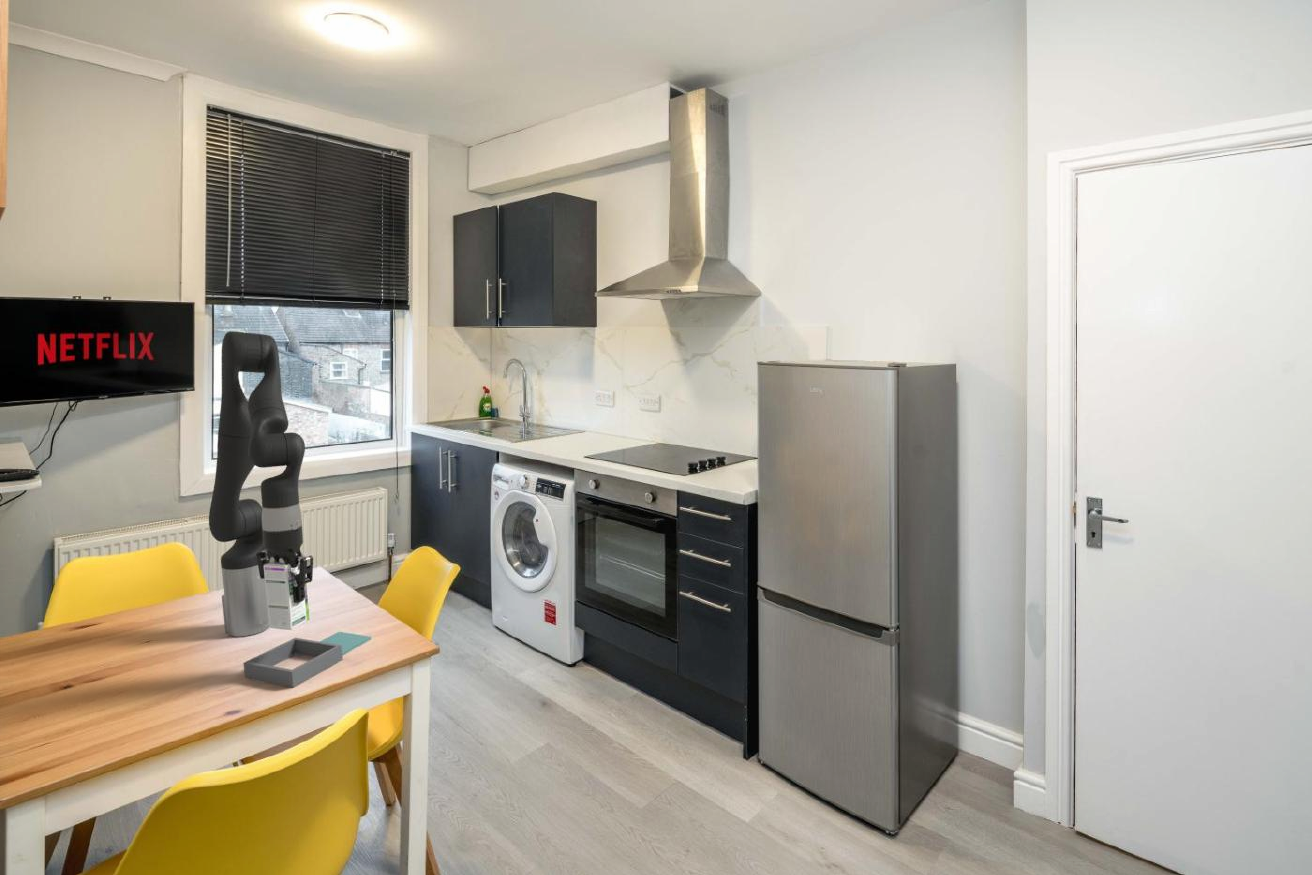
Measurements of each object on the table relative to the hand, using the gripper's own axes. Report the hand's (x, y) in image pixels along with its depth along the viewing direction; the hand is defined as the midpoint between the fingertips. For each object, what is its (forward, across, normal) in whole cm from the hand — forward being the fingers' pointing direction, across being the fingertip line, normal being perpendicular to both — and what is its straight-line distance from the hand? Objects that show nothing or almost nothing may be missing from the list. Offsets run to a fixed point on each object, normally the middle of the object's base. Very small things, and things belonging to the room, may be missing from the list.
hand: (287, 599), depth 150 cm
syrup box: (+6, 0, 0) cm, 6 cm away
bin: (+16, 0, 0) cm, 16 cm away
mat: (+16, 0, +13) cm, 21 cm away
